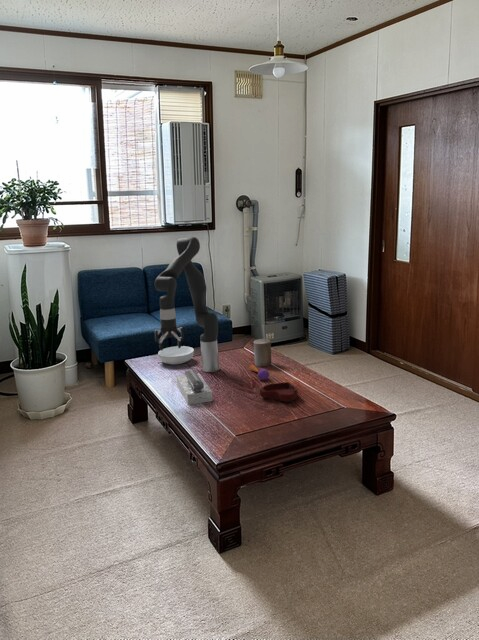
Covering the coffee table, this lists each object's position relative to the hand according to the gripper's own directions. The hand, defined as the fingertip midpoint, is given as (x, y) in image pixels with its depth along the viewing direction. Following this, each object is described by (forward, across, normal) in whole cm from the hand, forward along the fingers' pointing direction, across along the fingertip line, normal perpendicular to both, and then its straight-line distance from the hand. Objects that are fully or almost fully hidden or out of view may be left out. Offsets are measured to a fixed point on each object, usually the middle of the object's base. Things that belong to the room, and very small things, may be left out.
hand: (170, 349), depth 276 cm
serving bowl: (+23, -9, -48) cm, 53 cm away
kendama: (+23, -47, -7) cm, 53 cm away
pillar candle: (+22, -54, -24) cm, 64 cm away
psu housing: (+22, -10, +6) cm, 25 cm away
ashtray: (+23, -48, +26) cm, 60 cm away
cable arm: (+15, -10, +9) cm, 20 cm away
